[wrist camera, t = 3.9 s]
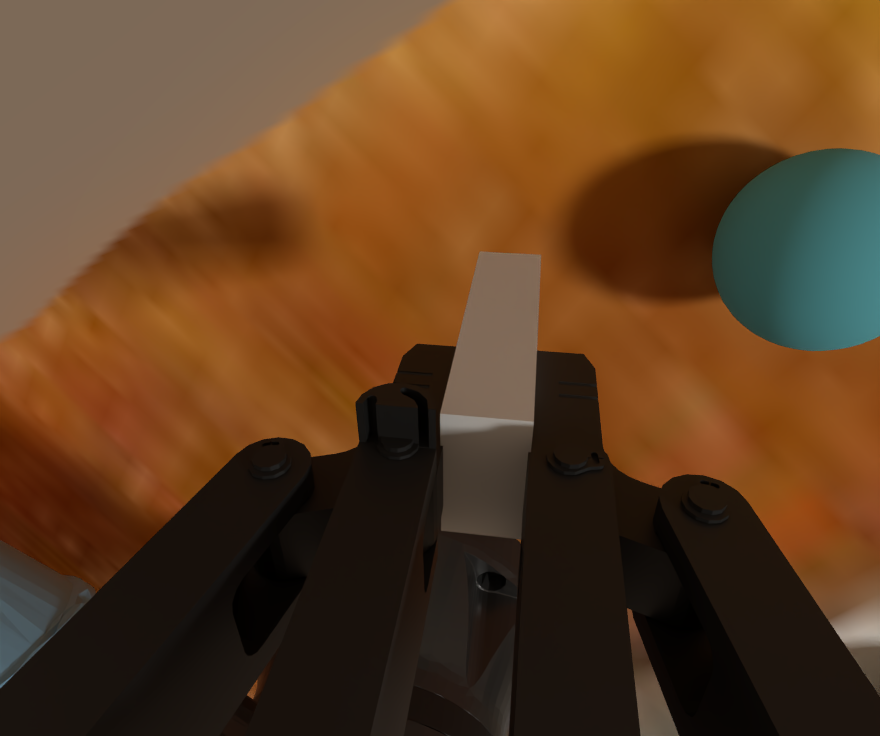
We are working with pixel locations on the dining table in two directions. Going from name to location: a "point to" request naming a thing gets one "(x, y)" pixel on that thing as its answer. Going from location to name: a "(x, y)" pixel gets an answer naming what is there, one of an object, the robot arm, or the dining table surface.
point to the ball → (805, 251)
